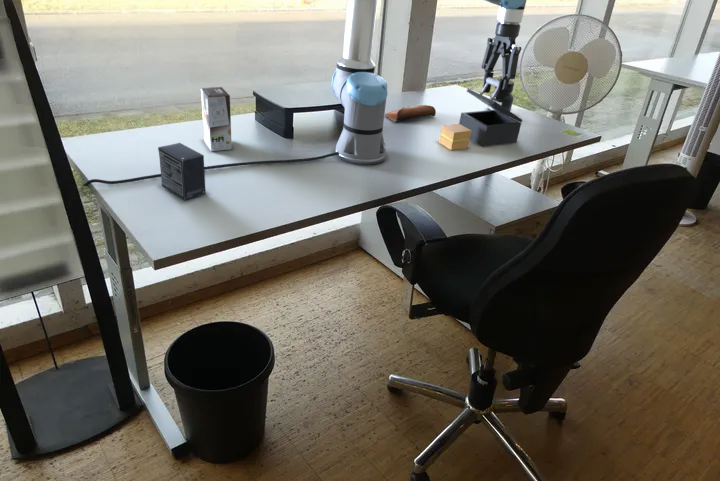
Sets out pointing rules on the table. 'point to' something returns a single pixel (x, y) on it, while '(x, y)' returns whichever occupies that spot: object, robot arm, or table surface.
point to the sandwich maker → (490, 127)
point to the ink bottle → (505, 97)
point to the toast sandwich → (454, 136)
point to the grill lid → (490, 101)
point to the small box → (182, 171)
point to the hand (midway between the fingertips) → (492, 95)
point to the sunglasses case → (411, 112)
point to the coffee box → (216, 118)
